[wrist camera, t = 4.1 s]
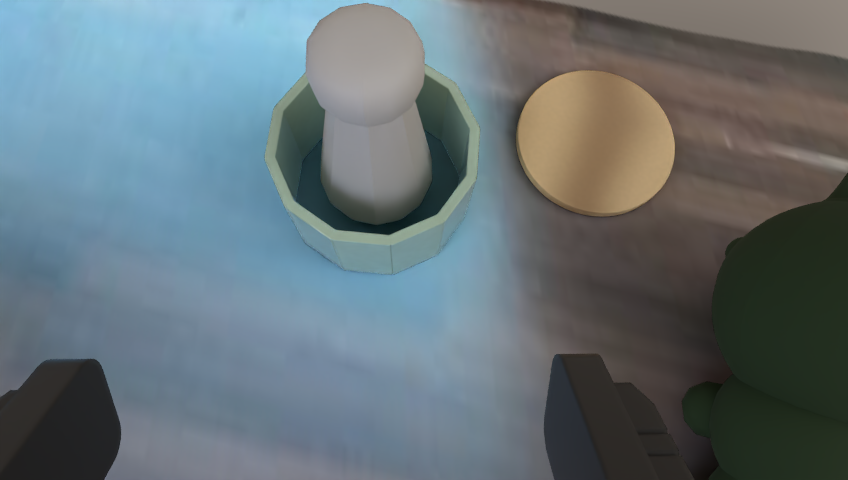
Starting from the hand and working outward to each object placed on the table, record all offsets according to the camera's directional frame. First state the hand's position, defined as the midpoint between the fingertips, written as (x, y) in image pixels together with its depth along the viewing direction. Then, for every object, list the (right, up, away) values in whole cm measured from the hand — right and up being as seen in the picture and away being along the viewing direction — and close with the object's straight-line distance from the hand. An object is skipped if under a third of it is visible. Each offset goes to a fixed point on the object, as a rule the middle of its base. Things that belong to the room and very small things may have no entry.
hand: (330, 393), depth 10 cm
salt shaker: (-1, +6, +22) cm, 23 cm away
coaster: (+11, +8, +23) cm, 27 cm away
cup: (-1, +6, +22) cm, 22 cm away
